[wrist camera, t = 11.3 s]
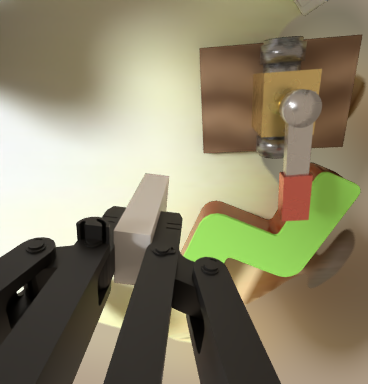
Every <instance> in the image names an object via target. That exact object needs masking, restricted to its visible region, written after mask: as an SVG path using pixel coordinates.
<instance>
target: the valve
mask: <svg viewBox="0 0 368 384" xmlns="http://www.w3.org/2000/svg"><path fill="white" fill-rule="evenodd" d="M303 38H304V37H303V36H292V37H282V38H275V39H269V40H266V41H264V45H262V46H260V65H263V73H257V74H253V100H252V128H253V129H254V130H255V131H256V132H257V134H258V135H257V139H256V152H258V153H259V155H260V156H262V157H265V158H276V159H277V158H284V140H285V122H284V121H283V119H282V118H281V116H280V111H279V109H280V104H281V101H282V100H283V98H284V97H285V96H286V95H287V93H289V92H291V91H293V90H296V89H306V90H312V91H316V93H317V94H318V95H319V90H320V82H321V74H322V69H312V70H300V69H301V61H305V55H306V46H307V41H303ZM314 128H315V122H314V123H313V133H312V135H314Z"/></svg>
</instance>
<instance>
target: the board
mask: <svg viewBox="0 0 368 384" xmlns="http://www.w3.org/2000/svg"><path fill="white" fill-rule="evenodd" d="M361 40H362V35H352V36H340V37H327V38H316V39H305V40H303V41H307V46H306V55H305V61H301V69H300V70H312V69H322V74H321V82H320V90H319V97H320V98H321V101H322V110H321V113H320V115H319V117H318V118H317V120H316V121H315V128H314V135H312V144H311V148H325V147H342V146H343V141H344V136H345V130H346V124H347V119H348V113H349V108H350V102H351V96H352V91H353V85H354V79H355V74H356V68H357V62H358V57H359V51H360V45H361ZM262 45H264V43H257V44H245V45H233V46H221V47H209V48H200V73H201V98H202V124H203V150H204V153H218V152H239V151H256V139H257V135H258V134H257V132H256V131H255V130H254V129H253V128H252V100H253V74H257V73H263V65H260V46H262Z"/></svg>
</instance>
